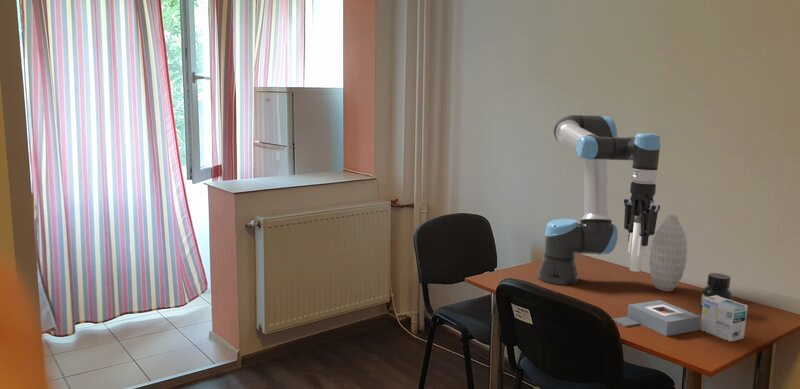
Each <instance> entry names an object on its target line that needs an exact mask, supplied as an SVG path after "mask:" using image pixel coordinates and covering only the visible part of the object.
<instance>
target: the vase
mask: <svg viewBox="0 0 800 389" xmlns="http://www.w3.org/2000/svg"><path fill="white" fill-rule="evenodd" d="M687 258H688V242H687V237H686V233H685V231H684V229H683V227H682V224H681V223H680V220H679V216H678V215H674V214H667V215H666V218H665V220H664V221H663V222H662V223H661V225H660V226H659V227H658V228H657V230H655V234H654V235H653V238H652V241H651V245H650V250H649V259H648V260H649V271H650V272H649V274H650V277H651V280H652V283H653V284H654V286H655V288H656V289H657V290H660V291H662V292H672V291H674V289H675V288H677V286H678V285H679V283H680V282H681V280H682V277H683V275H684V272H685V269H686V266H687V260H688V259H687Z"/></svg>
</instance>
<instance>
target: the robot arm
mask: <svg viewBox="0 0 800 389" xmlns="http://www.w3.org/2000/svg"><path fill="white" fill-rule="evenodd" d="M553 135H554V138H555V140H556V141H557V142H558V143H559V144H561V145H564V146H569V147H572V148H573V149H575V150H576V154H577V157H578V158H580V159H583V162H584V163H583V165H584V168H583V169H584V171H583V172H584V173H583V174H584V179H583V180H584V183H583V186H584V187H583V188H584V191H583V192H584V194H583V195H584V196H583V197H584V198H583V199H584V205H583V207H584V208H583V210H584V212H583V213H584V215H583V216H582V217H581V218H580V220H579V221H580V223H579V221H578V220H577V219H573V218H557V219H553V220H551V221H548V222H547V224H546V228H545V232H544V234H545V237H544V249H543V251H544V252H543V259H542V262H541V264H540V267H539V269H538V271H537V278H538V280H540V281H543V282H546V283H548V284H554V285H562V286H563V285H564V286H565V285H566V286H567V285H574V284H576V283H578V281H579V279H578V278H579V275H578V270H577V265H576V263H575V258H576V255H577V254H581V255H599V256H600V255H609V254H611V253H612V252H613V251H614V250H615V248H616V246H617V242H618V235H619V232H618V228H617V226H616V225H615V224H613V223H612V222H613V220H612V218H611V217H610V216H609V215H608V161H630V162H631V161H632V168H631V169H632V170H631V179H630V180H631V182H630V189H629V192H630V194H631V195H630V198H627V199H626V198H625V199H623V204H624V219H623V222H624V223H623V224H624V225H623V228H624V230H627V232H628V238H627V242H628V250H627V253H628V254H629V253H630V254H631V248H632V237H633V226H634V215H641V234H640V236H639V243H638V253H637V255H638V256H642V257H643V256H646V253H647V252H646V251H647V247H648V244H649V237H650V236H654V235H655V233H656V227H657V226H656V225H657V219H658V213H659V212H660V209H661V206H660V205H659V204H656V203H655V202H654V196H655V195H656V188H657V185H656V182H657V179H658V169H659V168H658V167H659V159H660V158H659V157H660V149H661V136H660V135H659V134H657V133H646V132H645V133H643V132H642V133H641V132H639V133H637V134H636V135H635V137H634V136H627V137H620V136H619V137H618V131H617V125H616V122H615V121H614V120H613V118H612V117H610V116H603V115H587V114H586V115H580V114H573V115H572V114H570V115H566V116H564V117H562V118H561V119H559V120H558V121H557V122H556V123H555V125H554V127H553Z"/></svg>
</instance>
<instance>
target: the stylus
mask: <svg viewBox="0 0 800 389" xmlns="http://www.w3.org/2000/svg"><path fill="white" fill-rule="evenodd" d="M640 234H641V215H634V226H633V237H632V248H631V253H630V259H629V261H630V262H629V271H631V272H636V273H638V272H641V269H642V260H643V256H638V255H637V253H638V243H639V236H640Z"/></svg>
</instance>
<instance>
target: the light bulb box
mask: <svg viewBox="0 0 800 389" xmlns="http://www.w3.org/2000/svg"><path fill="white" fill-rule="evenodd" d="M748 308H749V306H748V305H747V304H744V303H741V302H738V301H735V300H733V299H731V300H729V299H726V298H723V297H719V296H717V295H715V296H710V297H704V299H703V308H702V307H701V309H702V310H701V316H700V317H701V318H700V326H699V330H700V331H702V332H704V331H705V332H704V333H707V334H710V335H712V336H715V337H718V338H720V339H723V340H725V341H727V340H728V342H731V341H732V342H735V341H738V340H743V339H744V338H745V331H746V325H747V324H746V322H747V315H748Z"/></svg>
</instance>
